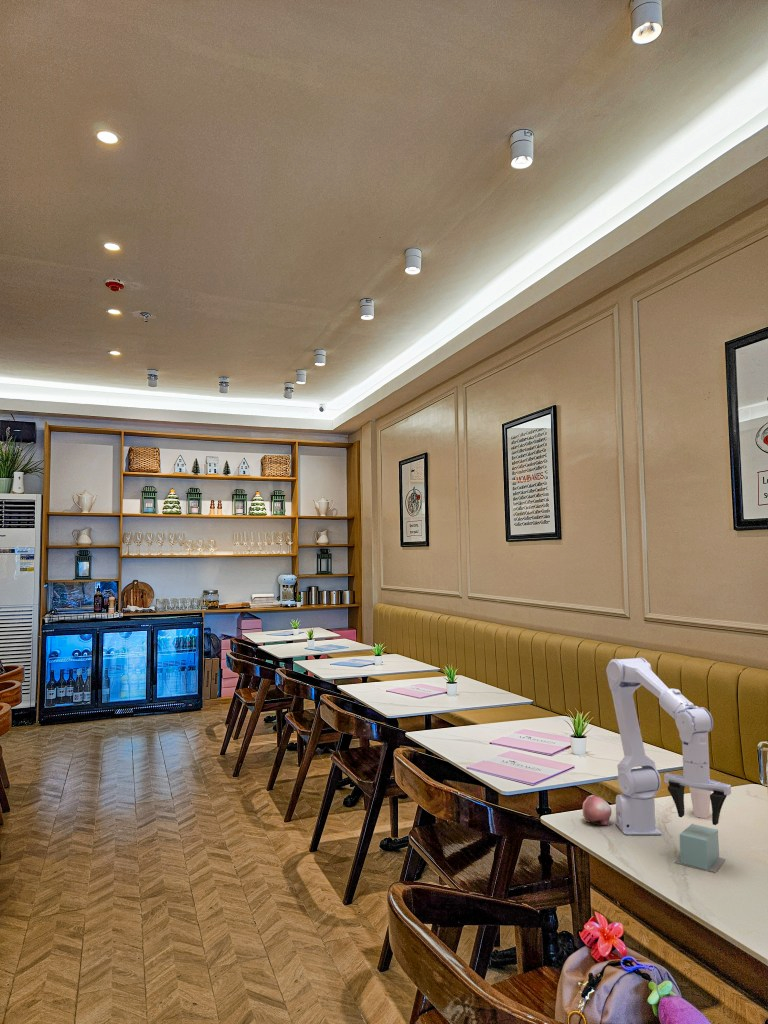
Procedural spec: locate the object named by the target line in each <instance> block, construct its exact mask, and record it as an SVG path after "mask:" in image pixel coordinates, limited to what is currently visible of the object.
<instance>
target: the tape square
mask: <svg viewBox="0 0 768 1024" xmlns="http://www.w3.org/2000/svg"><path fill="white" fill-rule="evenodd" d="M725 861H726V858H724V857H720V856H719V858H718V859H717V860H716V861H715V862H714V863H713V865H712V866H711V867H710V868H709V869H708V870H706V869H702V868H699V867H695V866H691V865H688V864H684V863H681V858H680V855H679V856H678V857H677V858H676V859H675V860H674V864H677V865H682V866H686V867H690V868H693V867H694V869H698V870H703V871H705V872H709V873H714V872H716V873H717V872H718V871H719V870H720V869H721V867H722V865H723V864H724V863H725ZM720 866H721V867H720Z"/></svg>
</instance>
